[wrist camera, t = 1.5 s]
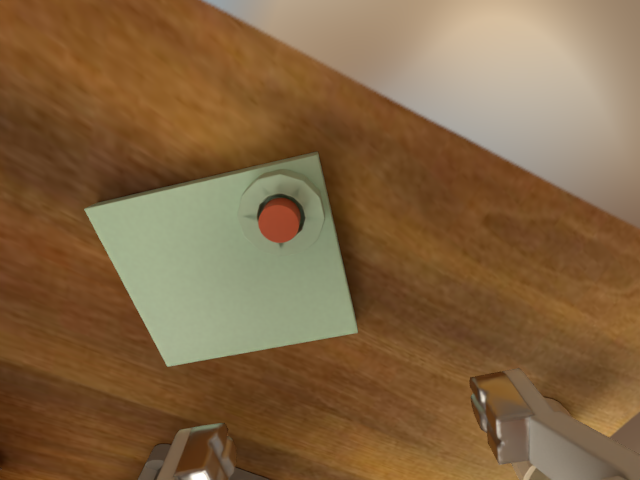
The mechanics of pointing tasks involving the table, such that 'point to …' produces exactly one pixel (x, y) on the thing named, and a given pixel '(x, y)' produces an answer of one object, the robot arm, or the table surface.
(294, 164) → the scale
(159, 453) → the alarm clock
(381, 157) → the table surface
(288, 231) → the button
